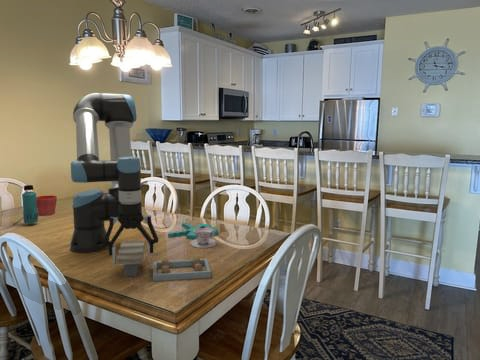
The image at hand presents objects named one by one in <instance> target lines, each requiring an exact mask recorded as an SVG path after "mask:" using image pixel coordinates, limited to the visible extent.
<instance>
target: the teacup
mask: <svg viewBox="0 0 480 360" xmlns="http://www.w3.org/2000/svg"><path fill="white" fill-rule="evenodd" d="M193 231H194V232H195V234H196V236H197V239H195V240H194V239H191V240H190V241H189V243H188V244H189V246H191V247H193V248H198V249H207V248H212V247H215V246H217V245H218V242H217V240H215V239H213V237H214V236H213V235H214V231H213V229H210V228H198V229H195V230H193ZM212 232H213V234H212V236H210V234H211V233H212Z"/></svg>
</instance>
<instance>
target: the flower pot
mask: <svg viewBox="0 0 480 360" xmlns="http://www.w3.org/2000/svg"><path fill="white" fill-rule="evenodd" d="M36 199H37V209H38V210H37V213H38V216H52V215H54V214H55V212H56V207H57V199H58V197H57V196H56V195H51V194H50V195H39V196H36Z"/></svg>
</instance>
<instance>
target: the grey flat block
mask: <svg viewBox="0 0 480 360" xmlns="http://www.w3.org/2000/svg"><path fill="white" fill-rule="evenodd" d="M145 243H146V242H145V240H134V241H133V240H132V241H130V240H129V241H121V244H120V247H119V249H118V252H117V254H116V265H117V266H124V265H125V264H139V265H141V264H143V262H144V255H145V247H146V246H145Z"/></svg>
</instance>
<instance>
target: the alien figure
mask: <svg viewBox="0 0 480 360" xmlns="http://www.w3.org/2000/svg"><path fill="white" fill-rule="evenodd" d="M181 227H182V228H184V229H186V230H181V231H176V230H175V231H174V232H171V231H170V232H168V233H167V238H170V239H171V238H174V237H177V238H179V237H180V236H183V237H184V236H186V240H195V239H197V236H196V234H195V232H194V231H193V230H195V229H198V228H210V229H213V231H214V235H213V237H215V236H216V235H217V234H218V233H219V229H218V228H215V227H214V226H212V225H209V223H199V224H198V225H197V226H193V225H192V224H191V223H188V222H185V221H183V222H182V223H181ZM212 234H213V232H212V233H211V234H210V237H211V236H212Z"/></svg>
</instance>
